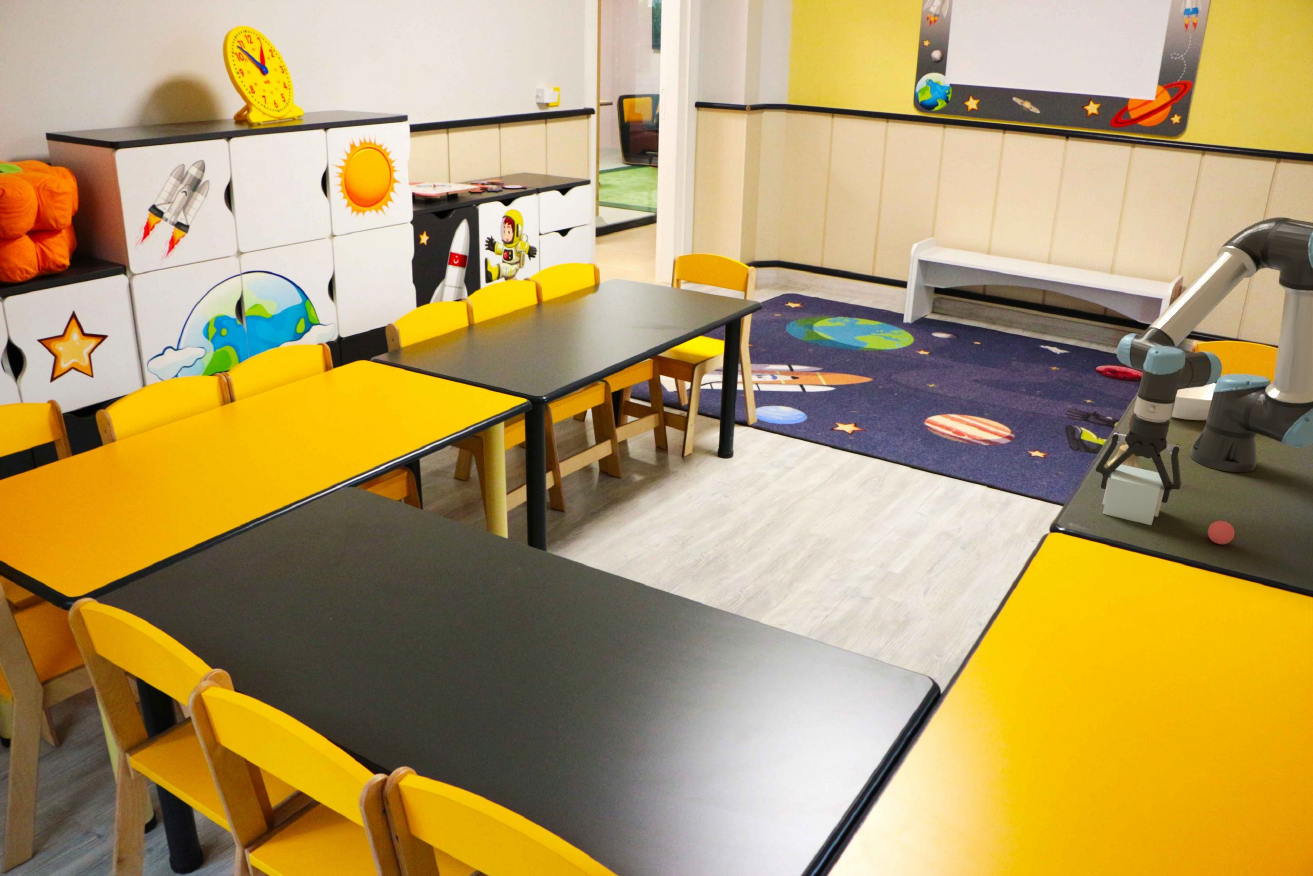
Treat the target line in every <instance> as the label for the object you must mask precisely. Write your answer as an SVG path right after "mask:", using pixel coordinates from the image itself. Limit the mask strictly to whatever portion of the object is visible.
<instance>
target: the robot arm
mask: <svg viewBox="0 0 1313 876" xmlns="http://www.w3.org/2000/svg"><path fill="white" fill-rule="evenodd" d="M1216 256H1217V257H1216V258H1215V259H1214V260H1213V261H1212V262H1211V263H1210V264H1209V265H1208V266H1207V268H1205V269H1204V271H1202V273H1200V275H1199V276H1198V277H1196V279H1194V281H1193V282H1192V283H1191V284H1190V285H1189V286H1188V287H1187V288H1186V289H1184V291H1183V292H1181V294H1180V295H1179V296H1178V297H1177V298H1175V300H1174V301H1173V302H1172V303H1171V304H1170V305H1169V306H1168V307H1167V308H1166V309H1165V310H1164V311H1163V312H1162V313H1161V314H1160V315H1159V316H1158V317H1157V318H1156V319H1155V320H1154V321H1153V322H1152V323H1151V324H1150V325H1149V326H1148V327H1147V328H1146V329H1145V330H1144V331H1143V332H1142V333H1141V334H1139V333H1135V332H1134V333H1131V332H1130V333H1129V334H1125V336H1123V337H1122V338H1121V339H1120V341H1119V343H1118V345H1117V348H1116V357H1117V360H1118V361H1119V362H1120V363H1121V364H1123V365H1126V366H1127V367H1129V368H1131V369H1133V370H1139V371H1140V372H1142V373H1141V378H1140V379H1141V380H1140V385H1139V389H1138V392H1137V396H1136V400H1135V404H1134V408H1133V412H1135V414H1134V415H1133V417H1132V422H1131V426H1130V429H1129V431H1128V432H1127V434H1123V433H1120V432H1119V431H1115V432H1114V433H1113V434H1112V437H1111V442H1110V444H1109V446H1108V448H1107V449H1106V451H1104V454H1103V455H1102V457H1101V459H1100V460H1099V462H1098V463H1097V465H1096V468H1095V472H1096V473H1100V474H1101V475H1102V479H1101V483H1100V488H1101V489H1102V490H1104V493H1103V494H1104V496H1103V499H1102V503H1101V504H1102V505H1105V500H1106V496H1107V491H1108V487H1109V482H1110V478H1111V476H1112V473H1113V471H1114V470H1115V469H1117V468H1118V467H1119V466H1120V465H1121V464H1122V463H1123V462H1124V461H1125V460H1126V459H1127V458H1129V457H1130V456H1131V455H1132V454H1134V455H1135V456H1138V457H1143V458H1145V459H1152V462H1153V463H1154V465H1155V468H1156V470H1157V471H1156V472H1158V473H1159V476H1160V478H1161V481H1162V483H1163V484H1162V486H1161V490H1160V494H1159V498H1158V502H1157V506H1156V510H1155V514H1154V517H1157V518H1158V517H1159V513H1160V509H1161V506H1162V503H1163V504H1166V503H1168V501H1169V497H1170V493H1171V491H1172V490H1176V491H1177V490H1178V491H1179V490H1180V489H1181V486H1182V479H1181V478H1182V477H1181V470H1180V459H1179V452H1180V449H1181V445H1180V444H1179V443H1176V444H1172V443H1168V441H1167V437H1168V432H1169V428H1170V423H1171V422H1170V419H1171V418H1172V412H1173V408H1174V404H1175V398H1176V394H1177V391H1178V390H1179V389H1185V388H1193V387H1203V386H1205V385H1210V384H1213V383H1215V384H1216V386H1215V388H1214V390H1213V396H1212V400H1211V404H1210V408H1209V413H1208V417H1207V420H1205V425H1204V429H1203V430H1202V431H1201V433H1200V435H1199V436H1198V437H1197V438H1196V440H1195V442H1194V443H1193V445H1192V447H1191V449H1190V453H1189V454H1190V455H1189V457H1190V458H1191V459H1192V460H1193V461H1194V462H1196V463H1198V464H1200V465H1202V466H1205V467H1208V468H1211V469H1214V470H1219V471H1224V472H1229V473H1230V472H1231V473H1250V472H1253V471H1254V470H1256V467H1257V462H1258V456H1257V452H1258V451H1257V443H1256V437H1257V435H1259V436H1262V437H1265V438H1267V439H1270V440H1273V441H1275V442H1278V443H1281V444H1282V445H1284V446H1290V447H1292V448H1297V449H1304V448H1307V447H1310V446H1312V445H1313V222H1311V221H1305V220H1299V219H1292V218H1290V217H1285V216H1284V217H1281V216H1279V217H1271V218H1270V217H1269V218H1267V219H1262V220H1260V221H1258V222H1255V223H1254V224H1251V225H1249V226H1247V227H1245V228H1243V229H1242V230H1241V231H1239V232H1237V233H1236V234H1235V235H1233V236H1232V237H1231V238H1229V239H1228V240H1227V241H1226V242H1225V243H1224V244H1223V245H1222V246H1221V247H1220V248H1219V249H1218V250H1217V252H1216ZM1263 269H1271V270H1275V271H1279V277H1278V284H1279V286H1280V287H1282V289H1284V290H1285V291H1284V299H1283V305H1282V313H1281V322H1280V329H1279V330H1280V331H1279V338H1278V345H1277V346H1278V347H1277V353H1276V361H1275V367H1274V368H1275V369H1274V377H1273V382H1272V383H1271V379H1270V378H1268V377H1265V376H1262V375H1255V374H1248V373H1247V374H1245V373H1230V374H1224V375H1222V371H1223V364H1222V361H1221V359H1220V358H1219V357H1218V355H1216V354H1215V353H1213V352H1211V351H1198V352H1194V351H1191V350H1188V349H1184V348H1181V347H1178V346H1179V344H1180V343H1181V342H1183V341H1184V340H1185V339H1186V338H1187V337H1188V336H1189V335H1190V334H1191V333H1192V331H1194V329H1195V328H1197V326H1198V325H1199V324H1200V323H1201V322H1202V321H1203V320H1204V319H1206V318H1207V316H1209V315H1210V313H1212V312H1213V310H1214V309H1216V307H1217V306H1218V305H1220V303H1221V302H1222V301H1223V300H1224V299H1225V298H1226V297H1227V296H1228V295H1230V293H1231V292H1232V291H1233V290H1234V289H1235V288H1236V287H1237V286H1238V285H1239V284H1240V283H1241V282H1242V281H1243V280H1244V279H1245V278H1246V279H1247V278H1252V277H1254V275H1255V274H1257V272H1259V271H1261V270H1263ZM1221 375H1222V376H1221ZM1123 441H1125V442H1126V444H1127V445H1128V446H1129V447H1128V448H1127V449H1126V451H1125V452H1124V453H1122V454H1121V455H1120V456H1119V457H1118V458H1117V459H1116V460H1115V461H1114V462H1113V463H1112V464H1111V465H1110V466H1109V467H1108V466H1107V467H1105V465H1106V464H1107V463H1108V462H1109V459H1110V457H1112V456H1111V455H1112V454H1113V453H1114V451H1115V449H1116V448H1117V445H1118V444H1120V445H1121V443H1122V442H1123ZM1164 450H1167V453H1168V454H1169V455H1170V456H1171V457H1170V461H1171V471H1172V480H1173V482H1171V479H1170V476H1169V473H1168V471H1167V469H1166V467H1165V464H1164V461H1163V459H1162V456H1161V453H1162V452H1163V451H1164Z"/></svg>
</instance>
